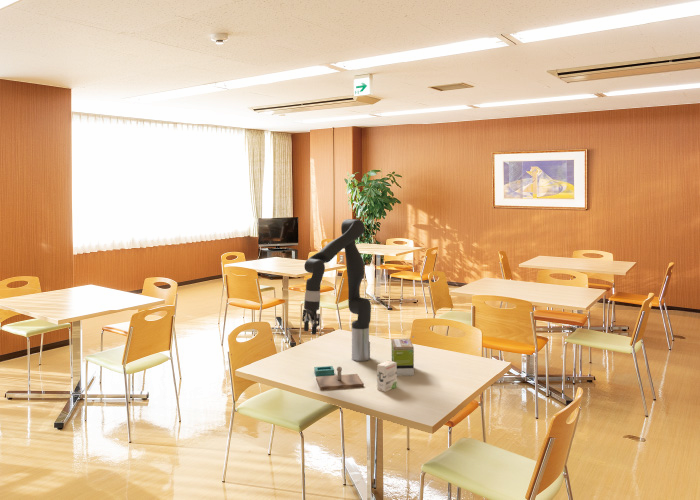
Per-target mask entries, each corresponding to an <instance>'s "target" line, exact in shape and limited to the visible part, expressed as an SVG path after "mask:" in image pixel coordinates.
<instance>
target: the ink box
mask: <svg viewBox="0 0 700 500" xmlns="http://www.w3.org/2000/svg"><path fill="white" fill-rule="evenodd" d="M376 367H377V369H376V370H377V372H376V373H377V374H376V376H377V378H376V382H377V385H376V386H377V387H376V389H377V390H379V391H382V392H388V391H390V390H392V389H395V388H397V378H398V377H397V363H396V362H393V361H392V360H386V361H384V362H381V363H378V364H377V365H376Z"/></svg>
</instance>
